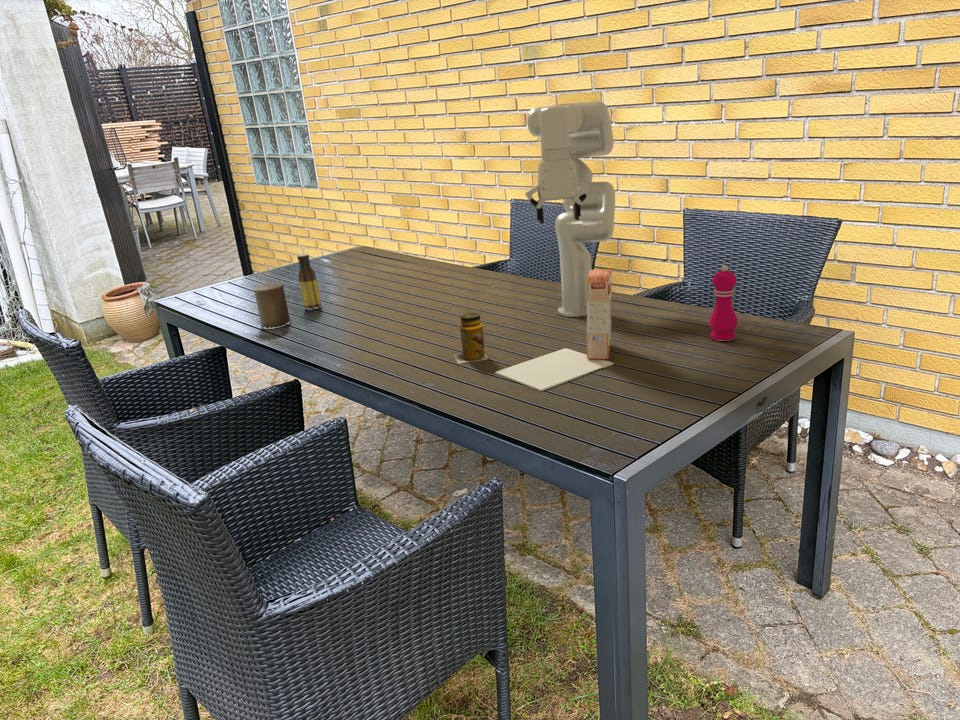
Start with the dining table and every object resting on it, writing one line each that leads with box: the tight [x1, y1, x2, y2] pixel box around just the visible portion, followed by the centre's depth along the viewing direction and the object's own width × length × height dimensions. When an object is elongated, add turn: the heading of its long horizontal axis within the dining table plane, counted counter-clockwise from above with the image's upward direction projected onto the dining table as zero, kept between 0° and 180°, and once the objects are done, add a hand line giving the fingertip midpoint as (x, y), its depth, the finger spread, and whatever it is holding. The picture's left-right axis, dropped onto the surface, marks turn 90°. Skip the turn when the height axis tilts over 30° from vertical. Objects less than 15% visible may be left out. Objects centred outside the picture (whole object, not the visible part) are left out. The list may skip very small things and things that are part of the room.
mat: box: [494, 347, 615, 392], centre depth 185 cm, size 24×18×1 cm
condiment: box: [452, 312, 490, 365], centre depth 198 cm, size 7×8×12 cm
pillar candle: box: [253, 282, 291, 328], centre depth 246 cm, size 10×10×15 cm
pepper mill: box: [708, 264, 739, 340], centre depth 193 cm, size 7×7×20 cm
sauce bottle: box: [296, 253, 322, 309], centre depth 263 cm, size 6×6×20 cm
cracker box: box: [586, 268, 612, 360], centre depth 191 cm, size 14×6×21 cm, turn 168°
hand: (559, 221), depth 199 cm, fingers open, 9 cm apart
